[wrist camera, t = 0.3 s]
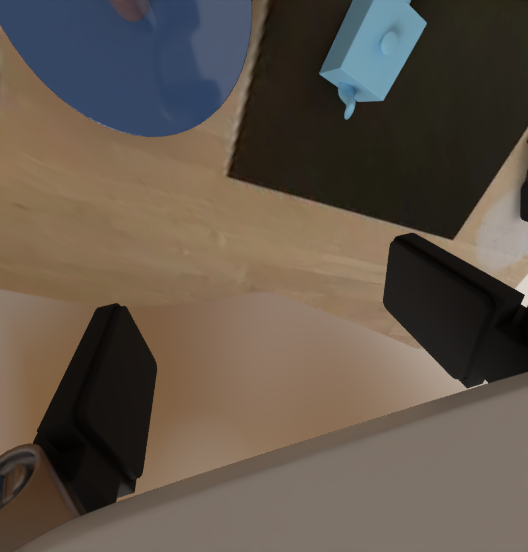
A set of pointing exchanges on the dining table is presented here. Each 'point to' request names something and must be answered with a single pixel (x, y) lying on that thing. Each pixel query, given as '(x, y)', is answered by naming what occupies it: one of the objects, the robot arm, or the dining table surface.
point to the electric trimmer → (524, 201)
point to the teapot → (371, 49)
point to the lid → (134, 57)
